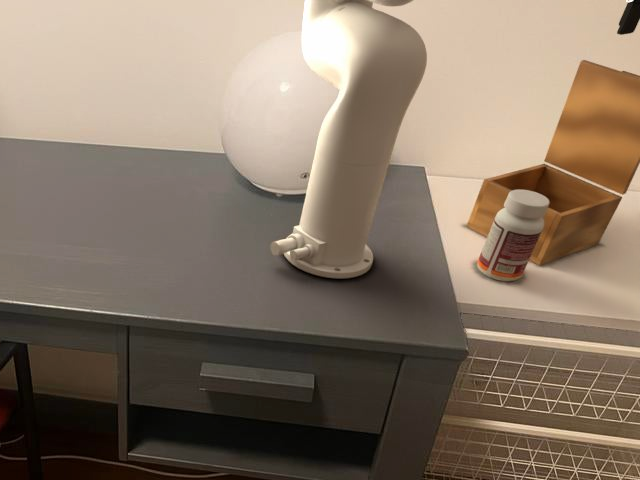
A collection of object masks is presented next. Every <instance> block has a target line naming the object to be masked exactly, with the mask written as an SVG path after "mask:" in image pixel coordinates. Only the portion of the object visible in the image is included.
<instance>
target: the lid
mask: <svg viewBox="0 0 640 480" xmlns="http://www.w3.org/2000/svg"><path fill="white" fill-rule="evenodd" d="M543 162H544V163H546V164H548V165H549V164H550V165H552V166H554V167H556V168H559V169H561V170H564V171H566V172H568V173H569V174H570V173H571V174H573V175H575V176H578V177H580V178H582V179H585V180H587V181H590V182H592V183H594V184H596V185H599V186H600V187H603V188H605V189H607V190H610V191H613V192H615V193H617V194H620V195H625V194H627V192H628V190H629V188H630V185H631V183H632V181H633V179H634V176H635V175H636V172H637V170H638V168H639V166H640V75H639V74H637V73H636V74H635V73H632V72H629V71H626V70H622V71H621V70H618V69H616V68H612V67H609V66H605V65H602V64H598V63H596V62H592V61H589V60H586V59H583V60H580V62H579V65H578V68H577V70H576V73H575V76H574V78H573V81H572V84H571V87H570V89H569V92H568V95H567V97H566V99H565V102H564V106H563V107H562V111H561V114H560V116H559V120H558V122H557V125H556V128H555V130H554V133H553V135H552V138H551V141H550V144H549V147H548V149H547V152H546V154H545V158H544V161H543Z"/></svg>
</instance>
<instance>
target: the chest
mask: <svg viewBox="0 0 640 480" xmlns="http://www.w3.org/2000/svg"><path fill="white" fill-rule="evenodd" d="M513 190H529V191H533V192H537V193H539V194H541V195H543V196H545V197H546V198H548V200H549V206H548V208H547V210H546V213H545V215H544V216H543V217H542V218H543V220H544V227H543V230H542V232H541V234H540V236H539V239H538V241H537V243H536V245H535V248H534V250H533V252H532V254H531V257H530V259H529V261H531V262H532V263H534V264H536V265H539V266H541V265H544V264H548V263H549V262H553V261H555V260H559V259H560V258H564V257H567V256H570V255H571V254H575V253H578V252H580V251H583V250H586V249H589V248H592V247H595V246H597V245H599V243H600V242H601V240H602V238H603V237H604V235H605V233H606V231H607V228H608V227H609V225H610V223H611V221H612V218H613V217H614V214H615V213H616V211H617V209H618V207H619V205H620V203H621V201H622V199H623V197H622V196H621V195H619V194H616V193H614V192H611V191H609V190H608V189H607V190H606V189H604V188H602V187H601V186H597V185H595V184H592V183H590V182H588V181H586V180H583V179H581V178H579V177H576V176H574V175H572V174H570V173H567V172H564V171H562V170H560V169H558V168H555V167H553V166H550V165H549V164H547V163H541V164H537V165H534V166H529V167H526V168H522V169H518V170H515V171H511V172H508V173H507V172H506V173H503V174H499V175H495V176H491V177H488V178H484V179H483V181H482V184H481V187H480V189H479V192H478V195H477V197H476V199H475V202H474V205H473V208H472V210H471V213H470V215H469V218H468V221H467V224H466V227H467V228H469V229H470V230H472V231H475V232H477V233H478V234H480V235H481V236H484V237H485V238H487V237H488V234H489V232H490V229H491V227H492V224H493V222H494V219H495V217H496V215H497V213H498V212H499V211H500V210H501V209H503V208H505V207H504V203H505V201H506V199H507V196H508V194H509V192H510V191H513Z"/></svg>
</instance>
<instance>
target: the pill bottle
mask: <svg viewBox="0 0 640 480" xmlns="http://www.w3.org/2000/svg"><path fill="white" fill-rule="evenodd" d="M548 206H549V200H548V198H546V197H545V196H543V195H541V194H539V193H537V192H533V191H529V190H513V191H510V192H509V194H508V196H507V199H506V201H505V203H504V207H505V208H503V209H501V210H500V211H499V212H498V213H497V215H496V217H495V219H494V222H493V224H492V227H491V229H490V232H489V234H488V237H486V239H485V242H484V244H483V247H482V249H481V252H480V255H479V257H478V260H477V263H476V266H477V269H478V270H479V271H480V272H481V273H482V274H483V275H485V276H487V277H488V278H491V279H493V280H496V281H503V282H512V281H517V280H519V279H520V278H522V276H523V275H524V272H525V270H526V268H527V266H528V263H529V261H530V260H529V259H530V257H531V254H532V252H533V250H534V248H535V245H536V243H537V241H538V239H539V236H540V234H541V232H542V230H543V227H544V220H543V218H542V217H543V216H544V215H545V213H546V210H547V208H548Z"/></svg>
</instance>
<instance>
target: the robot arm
mask: <svg viewBox="0 0 640 480" xmlns="http://www.w3.org/2000/svg"><path fill="white" fill-rule="evenodd" d="M413 1H414V0H304V8H303V17H302V28H301V49H302V55H303V59H304V61H305V63H306V65H307V66H308V67H309V69H310V71H312V72H313V73H314V74H316V75H317V76H318V77H320V78H321V79H323V80H325V81H326V82H328V83H330V84H331V85H333V87H335V88H336V89H337V90H339V92H338V96H337V98H336V100H335V102H334V103H333V104H332V106H331V108H330V109H329V110H328V111H327V114H326V115H325V117H324V118H323V121H322V123H321V125H320V129H319V133H318V137H317V141H316V147H315V151H314V157H313V161H312V165H311V170H310V175H309V179H308V184H307V189H306V192H305V197H304V202H303V207H302V211H301V216H300V219H299V220H300V221H299V225H295V226H293V231H292V233H291V234H289V235H288V236H286V238H285V239H279V240H276V241H272V242H271V243H270V247H269V248H270V252H271V254H272V255H273V256H279V255H284V257H285V258H286V259H287V261H288V262H289V263H290V264H291V265H293V267H296V268H297V269H298V270H301V271H304V272H306V273H308V274H311V275H314V276H318V277H322V278H327V279H328V278H329V279H339V280H340V279H351V278H352V279H353V278H356V277H359V276H363V275H364V274H366V273H368V271H369V270H371V267H372V266H373V261H374V254H373V251H372V250H371V248H370V247H369V246H368V245H367V241H368V239H369V235H370V231H371V228H372V225H373V221H374V217H375V215H376V210H377V207H378V203H379V200H380V197H381V192H382V190H383V187H384V183H385V180H386V176H387V172H388V170H389V167H390V166H389V165H390V162H391V158H392V155H393V151H394V149H395V148H394V147H395V144H396V141H397V138H398V136H399V135H398V134H399V132H400V129H401V126H402V123H403V121H404V118H405V117H406V116H405V115H406V114H407V111H408V109H409V106H410V105H411V102H412V101H413V99H414V97H415V94H416V93H417V90H418V89H419V87H420V85H421V83H422V80H423V78H424V75H425V73H426V69H427V64H428V63H427V62H428V52H427V48H426V44H425V41H424V39H423V38H422V36H421V35H420V33H419V32H418V31H417V30H416V29H415V28H414V27H412V26H411V25H410V24H408V23H407V22H406V21H403V20H401V19H399V18H398V17H395V16H393V15H391V14H389V13H386V12H384V11H381V10H378V9H376V8H373V4H377V5H379V6H385V7H402V6H405V5H408V4H410V3H411V2H413ZM625 1H626V5H625V8H624V10H623V13H622V15H621V17H620V19H619V22H618V29H617V31H616V34H617V35H620V36H624V35H628V34H632V33H635V31H636V29H637V26H638V25H639V22H640V0H625Z"/></svg>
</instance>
